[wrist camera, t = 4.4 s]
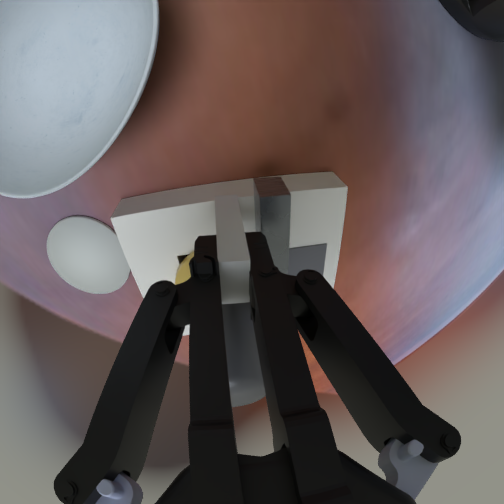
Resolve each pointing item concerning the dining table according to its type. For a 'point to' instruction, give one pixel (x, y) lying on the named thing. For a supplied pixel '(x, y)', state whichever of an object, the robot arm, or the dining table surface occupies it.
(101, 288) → the mat
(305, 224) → the socket block
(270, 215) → the grey lever handle
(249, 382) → the plug
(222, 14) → the dining table surface
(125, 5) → the chinaware
